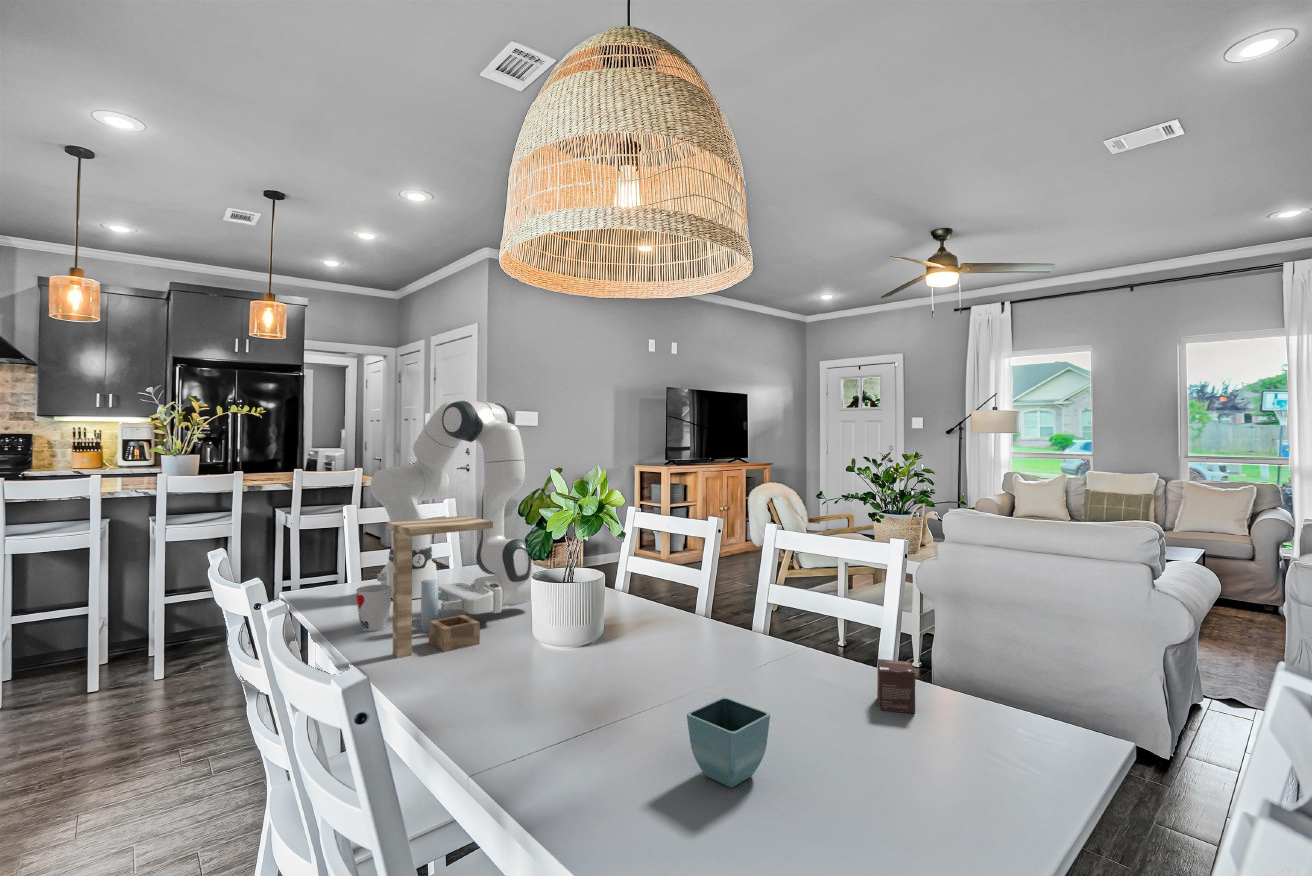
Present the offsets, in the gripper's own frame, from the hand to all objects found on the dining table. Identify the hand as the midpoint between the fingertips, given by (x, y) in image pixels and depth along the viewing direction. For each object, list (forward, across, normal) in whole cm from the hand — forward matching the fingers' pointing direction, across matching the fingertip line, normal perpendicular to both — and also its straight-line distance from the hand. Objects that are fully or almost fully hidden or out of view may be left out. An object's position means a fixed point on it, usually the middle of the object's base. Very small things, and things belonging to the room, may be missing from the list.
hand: (434, 602), depth 160 cm
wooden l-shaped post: (+5, +14, +6) cm, 16 cm away
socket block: (+1, +14, +6) cm, 15 cm away
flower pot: (-3, +95, +6) cm, 95 cm away
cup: (+11, -10, +7) cm, 16 cm away
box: (-44, +99, +6) cm, 108 cm away
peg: (+1, 0, +6) cm, 7 cm away
